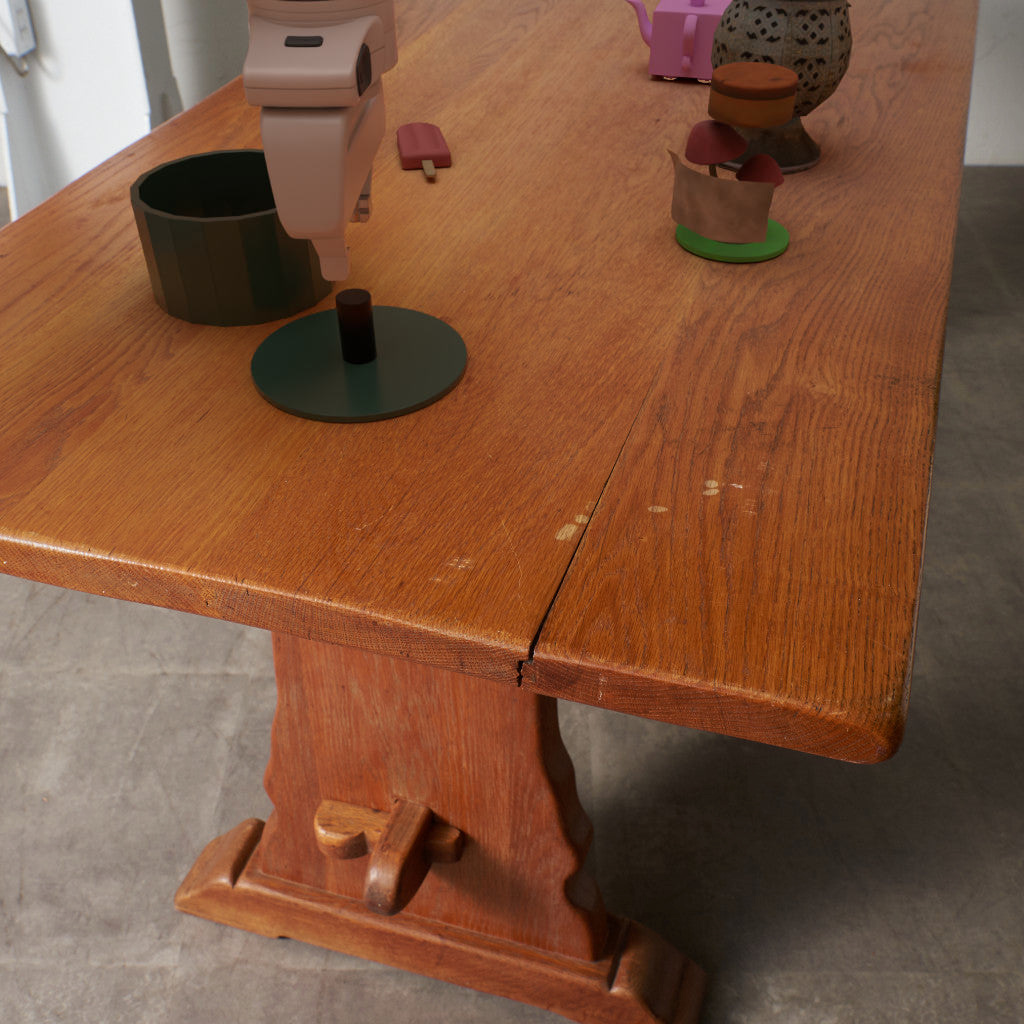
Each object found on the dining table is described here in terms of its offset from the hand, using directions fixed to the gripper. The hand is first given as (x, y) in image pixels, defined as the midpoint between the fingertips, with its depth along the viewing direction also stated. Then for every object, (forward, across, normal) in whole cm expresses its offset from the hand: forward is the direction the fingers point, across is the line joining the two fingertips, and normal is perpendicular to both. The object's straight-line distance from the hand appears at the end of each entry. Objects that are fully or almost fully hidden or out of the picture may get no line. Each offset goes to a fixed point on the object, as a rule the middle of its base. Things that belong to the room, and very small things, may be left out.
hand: (349, 246), depth 71 cm
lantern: (+10, -48, +38) cm, 62 cm away
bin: (+10, -13, -12) cm, 21 cm away
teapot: (+10, -78, +32) cm, 85 cm away
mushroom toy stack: (+10, -25, +31) cm, 41 cm away
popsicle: (+10, -45, 0) cm, 46 cm away
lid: (+10, 0, 0) cm, 10 cm away
